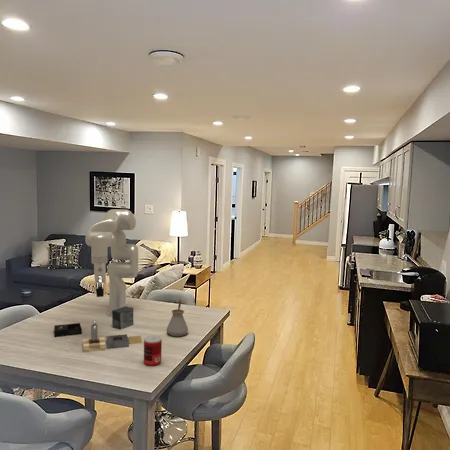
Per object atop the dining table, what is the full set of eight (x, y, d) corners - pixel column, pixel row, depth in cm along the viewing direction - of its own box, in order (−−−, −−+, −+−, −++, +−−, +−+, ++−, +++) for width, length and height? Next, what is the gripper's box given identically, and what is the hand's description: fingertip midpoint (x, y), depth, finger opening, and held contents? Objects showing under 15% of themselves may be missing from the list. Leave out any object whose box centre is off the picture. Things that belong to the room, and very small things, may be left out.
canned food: (162, 358, 188) (162, 335, 187) (160, 366, 180) (160, 342, 179) (145, 358, 187) (145, 335, 186) (142, 366, 179) (142, 341, 178)
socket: (106, 341, 206) (106, 336, 205) (126, 340, 209) (126, 334, 209) (107, 349, 196) (107, 343, 196) (129, 347, 199) (129, 341, 199)
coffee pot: (187, 338, 213) (187, 310, 212) (164, 338, 213) (165, 310, 212) (190, 325, 235) (190, 299, 233) (170, 324, 234) (170, 298, 233)
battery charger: (54, 338, 208) (54, 331, 208) (54, 332, 217) (54, 325, 217) (81, 335, 214) (81, 328, 213) (80, 329, 222) (80, 322, 222)
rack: (83, 344, 201) (83, 338, 201) (104, 342, 204) (104, 337, 204) (83, 352, 192) (83, 346, 191) (105, 350, 195) (105, 344, 195)
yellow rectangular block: (128, 342, 206) (128, 336, 205) (140, 341, 208) (140, 335, 207) (128, 344, 203) (128, 338, 203) (141, 343, 205) (141, 337, 205)
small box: (125, 323, 234) (125, 305, 233) (134, 325, 231) (134, 307, 230) (111, 328, 225) (111, 310, 224) (120, 331, 221) (120, 312, 221)
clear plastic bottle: (90, 346, 199) (90, 320, 198) (97, 346, 200) (97, 320, 199) (91, 349, 196) (91, 322, 195) (97, 348, 197) (97, 322, 196)
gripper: (108, 262, 193) (108, 298, 195) (106, 256, 209) (106, 288, 211) (91, 263, 191) (92, 299, 193) (91, 256, 207) (91, 289, 209)
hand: (99, 293), depth 202 cm, fingers open, 9 cm apart
